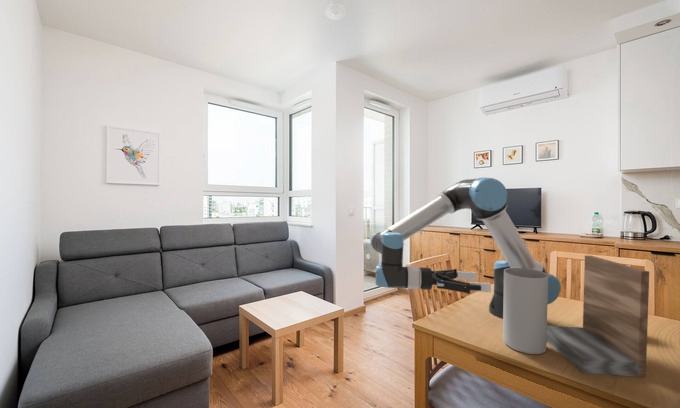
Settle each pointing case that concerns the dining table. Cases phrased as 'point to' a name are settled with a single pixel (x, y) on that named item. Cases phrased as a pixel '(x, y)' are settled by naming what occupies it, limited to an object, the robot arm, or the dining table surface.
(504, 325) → the cylinder vase
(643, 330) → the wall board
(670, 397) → the dining table surface
